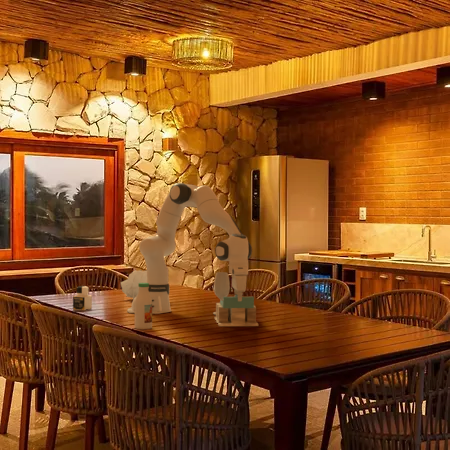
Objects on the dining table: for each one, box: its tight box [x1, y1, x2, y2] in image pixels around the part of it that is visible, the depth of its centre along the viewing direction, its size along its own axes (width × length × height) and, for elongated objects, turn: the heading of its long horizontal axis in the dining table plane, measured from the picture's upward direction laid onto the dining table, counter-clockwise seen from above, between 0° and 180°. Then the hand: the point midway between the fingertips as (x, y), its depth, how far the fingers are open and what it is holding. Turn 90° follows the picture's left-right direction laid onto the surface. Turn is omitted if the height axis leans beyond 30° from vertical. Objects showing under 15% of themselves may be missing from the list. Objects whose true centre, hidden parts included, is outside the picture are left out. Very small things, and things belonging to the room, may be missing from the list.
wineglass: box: [212, 271, 231, 316], centre depth 340 cm, size 9×9×21 cm
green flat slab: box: [219, 296, 255, 308], centre depth 314 cm, size 14×14×5 cm
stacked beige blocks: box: [214, 302, 259, 327], centre depth 315 cm, size 20×18×11 cm
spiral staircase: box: [120, 269, 147, 300], centre depth 388 cm, size 18×18×25 cm
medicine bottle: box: [72, 285, 93, 311], centre depth 352 cm, size 7×7×12 cm
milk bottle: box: [134, 283, 153, 330], centre depth 297 cm, size 8×8×20 cm
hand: (238, 299), depth 308 cm, fingers open, 8 cm apart
